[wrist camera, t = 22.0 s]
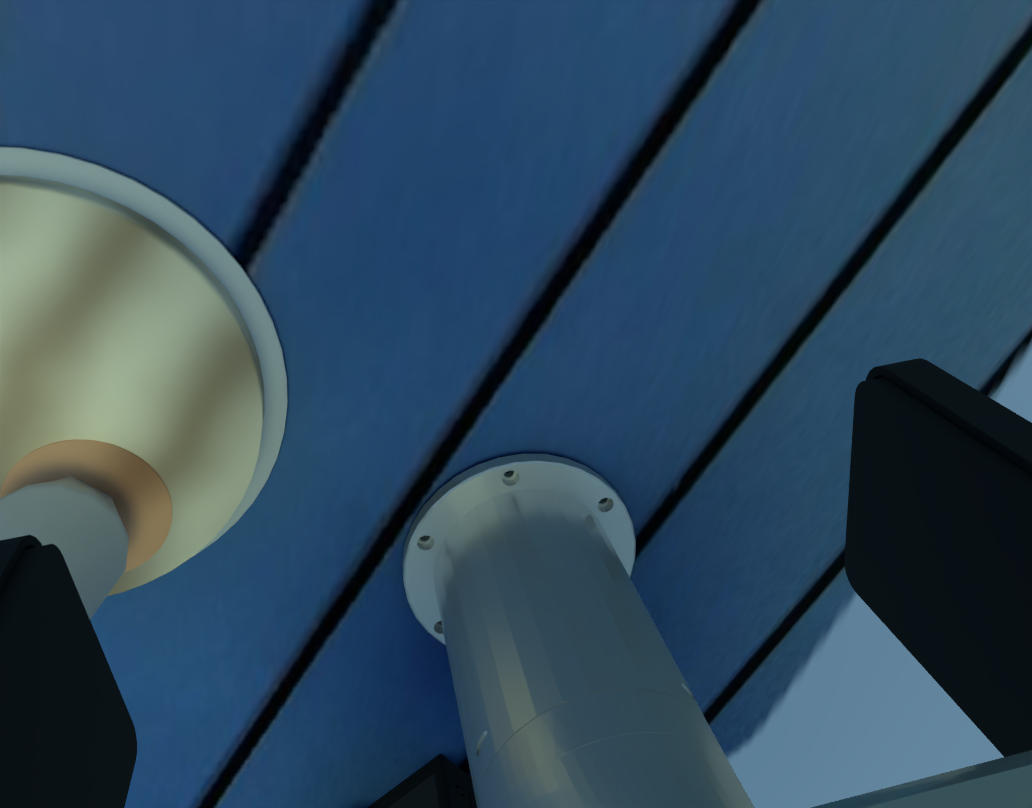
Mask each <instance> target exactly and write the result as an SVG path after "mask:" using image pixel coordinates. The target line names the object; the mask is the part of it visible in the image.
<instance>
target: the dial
mask: <svg viewBox="0 0 1032 808" xmlns="http://www.w3.org/2000/svg"><path fill="white" fill-rule="evenodd" d="M264 411H265V408H264V383H263V377H262V371H261V366H260V360H259V357H258V354H257V351H256V348H255V345H254V342H253V339H252V335H251V333H250V331H249V329H248V327H247V325H246V323H245V321H244V319H243V317H242V315H241V313H240V310H239V309H238V307H237V306H236V304H235V303H234V301H233V300H232V298H231V297H230V295H229V294H228V292H227V291H226V289H225V288H224V286H223V285H222V284H221V282H220V281H219V280H218V279H217V278H216V277H215V275H214V274H213V273H212V272H211V271H210V270H209V268H208V267H207V266H206V265H205V264H204V263H203V262H202V261H201V260H200V259H199V258H198V257H197V256H196V255H195V254H194V253H193V252H191V251H190V250H189V249H188V248H187V247H186V246H185V245H184V244H183V243H182V242H181V241H179V240H178V239H176V238H175V237H174V236H172V235H171V234H170V233H168V232H167V231H165V230H164V229H163V228H161V227H160V226H158V225H157V224H156V223H154V222H153V221H151V220H149V219H147V218H145V217H144V216H142V215H140V214H138V213H137V212H135V211H133V210H131V209H129V208H128V207H126V206H124V205H122V204H119V203H117V202H115V201H112V200H110V199H107V198H105V197H103V196H100V195H98V194H96V193H93V192H90V191H87V190H83V189H80V188H76V187H73V186H70V185H66V184H63V183H59V182H54V181H48V180H42V179H36V178H31V177H25V176H7V175H0V498H2V497H4V496H6V495H8V494H10V493H12V492H14V491H16V490H19V489H21V488H23V487H25V486H27V485H31V484H38V483H44V482H50V481H54V480H58V479H62V478H66V477H70V476H73V477H75V478H77V479H79V480H81V481H82V482H84V483H86V484H88V485H90V486H92V487H94V488H96V489H98V490H100V491H102V492H103V493H105V494H107V495H109V496H111V497H112V500H113V502H114V504H115V507H116V509H117V512H118V514H119V516H120V518H121V520H122V523H123V525H124V527H125V529H126V531H127V534H128V536H129V542H128V552H127V562H126V570H125V572H124V573H123V574H122V576H121V577H120V579H119V580H118V581H117V583H116V584H115V586H114V587H113V588H112V590H111V591H110V592H109V594H108V595H107V596H109V595H113V594H117V593H121V592H124V591H127V590H130V589H132V588H135V587H138V586H140V585H143V584H146V583H148V582H150V581H152V580H154V579H156V578H158V577H160V576H162V575H164V574H166V573H168V572H170V571H172V570H173V569H175V568H176V567H178V566H179V565H181V564H182V563H184V562H185V561H187V560H188V559H190V558H191V557H193V556H194V555H195V554H196V553H197V552H198V551H200V550H201V549H202V548H203V547H204V546H205V545H206V544H208V543H209V542H210V541H211V540H212V539H213V538H214V537H215V536H216V535H217V533H218V532H219V531H220V530H221V529H222V528H223V527H224V525H225V524H226V523H227V522H228V521H229V519H230V518H231V516H232V515H233V513H234V512H235V510H236V508H237V507H238V505H239V504H240V502H241V501H242V499H243V497H244V494H245V492H246V490H247V488H248V486H249V483H250V481H251V479H252V476H253V473H254V469H255V466H256V462H257V459H258V455H259V449H260V442H261V435H262V427H263V419H264Z"/></svg>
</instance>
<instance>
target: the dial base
mask: <svg viewBox="0 0 1032 808" xmlns="http://www.w3.org/2000/svg"><path fill="white" fill-rule="evenodd" d="M0 175H7V176H25V177H31V178H36V179H42V180H48V181H54V182H59V183H63V184H66V185H70V186H73V187H76V188H80V189H83V190H87V191H90V192H93V193H96V194H98V195H100V196H103V197H105V198H107V199H110V200H112V201H115V202H117V203H119V204H122V205H124V206H126V207H128V208H129V209H131V210H133V211H135V212H137V213H138V214H140V215H142V216H144V217H145V218H147V219H149V220H151V221H153V222H154V223H156V224H157V225H158V226H160V227H161V228H163V229H164V230H165V231H167V232H168V233H170V234H171V235H172V236H174V237H175V238H176V239H178V240H179V241H181V242H182V243H183V244H184V245H185V246H186V247H187V248H188V249H189V250H190V251H191V252H193V253H194V254H195V255H196V256H197V257H198V258H199V259H200V260H201V261H202V262H203V263H204V264H205V265H206V266H207V267H208V268H209V270H210V271H211V272H212V273H213V274H214V275H215V277H216V278H217V279H218V280H219V281H220V282H221V284H222V285H223V286H224V288H225V289H226V291H227V292H228V294H229V295H230V297H231V298H232V300H233V301H234V303H235V304H236V306H237V307H238V309H239V310H240V313H241V315H242V317H243V319H244V321H245V323H246V325H247V327H248V329H249V331H250V333H251V335H252V339H253V342H254V345H255V348H256V351H257V354H258V357H259V360H260V366H261V371H262V377H263V383H264V408H265V411H264V419H263V427H262V435H261V442H260V449H259V455H258V459H257V462H256V466H255V469H254V473H253V476H252V479H251V481H250V483H249V486H248V488H247V490H246V492H245V494H244V497H243V499H242V501H241V502H240V504H239V505H238V507H237V508H236V510H235V512H234V513H233V515H232V516H231V518H230V519H229V521H228V522H227V523H226V524H225V525H224V527H223V528H222V529H221V530H220V531H219V532H218V533H217V535H216V536H215V537H214V538H213V539H212V540H211V541H210V542H209V543H208V544H206V545H205V546H204V547H203V548H202V549H201V550H200V551H202V550H203V549H205V548H206V547H208V546H209V545H210V544H212V543H213V542H215V541H216V540H217V539H219V538H220V537H221V536H222V535H223V534H224V533H225V532H226V531H227V530H229V529H230V528H231V527H232V526H233V525H234V524H235V523H236V522H237V521H238V520H239V519H240V518H241V516H242V515H243V514H244V513H245V512H246V510H247V509H248V508H249V507H250V506H251V505H252V503H253V502H254V500H255V499H256V497H257V496H258V494H259V492H260V491H261V489H262V488H263V486H264V485H265V483H266V481H267V479H268V477H269V475H270V473H271V470H272V468H273V466H274V464H275V461H276V459H277V456H278V453H279V449H280V446H281V442H282V438H283V435H284V429H285V421H286V413H287V403H288V400H287V374H286V368H285V363H284V357H283V351H282V347H281V344H280V341H279V337H278V334H277V331H276V328H275V325H274V322H273V320H272V317H271V315H270V313H269V311H268V309H267V307H266V305H265V303H264V301H263V299H262V297H261V295H260V293H259V291H258V290H257V288H256V287H255V285H254V284H253V282H252V281H251V279H250V278H249V276H248V275H247V273H246V272H245V270H244V269H243V267H242V266H241V265H240V263H239V262H238V261H237V260H236V259H235V258H234V256H233V255H232V254H231V253H230V252H229V251H228V249H227V248H226V247H225V246H224V245H223V244H222V242H221V241H220V240H219V239H218V238H216V237H215V236H214V235H213V234H212V233H211V232H210V231H209V230H208V229H207V228H206V227H204V226H203V225H202V224H201V223H200V222H199V221H198V220H197V219H196V218H195V217H193V216H192V215H190V214H189V213H188V212H186V211H185V210H183V209H182V208H181V207H179V206H178V205H177V204H175V203H174V202H172V201H171V200H170V199H168V198H167V197H165V196H163V195H162V194H160V193H158V192H156V191H154V190H153V189H151V188H149V187H147V186H146V185H144V184H142V183H140V182H138V181H137V180H135V179H133V178H130V177H128V176H126V175H123V174H121V173H118V172H116V171H114V170H111V169H109V168H107V167H104V166H102V165H99V164H96V163H93V162H89V161H86V160H82V159H79V158H75V157H72V156H68V155H65V154H61V153H55V152H49V151H43V150H37V149H31V148H26V147H8V146H0ZM200 551H198V552H197V553H199V552H200ZM197 553H196V554H197ZM196 554H195V555H196ZM195 555H194V556H195Z"/></svg>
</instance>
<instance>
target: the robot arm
mask: <svg viewBox="0 0 1032 808" xmlns="http://www.w3.org/2000/svg"><path fill="white" fill-rule="evenodd" d="M510 470H511V472H509V473H505V472H507V471H510ZM423 536H425V537H423ZM635 549H636V539H635V534H634V528H633V523H632V521H631V518H630V516H629V514H628V511H627V509H626V507H625V505H624V503H623V502H622V500H621V499H620V497H619V496H618V494H617V492H616V491H615V490H614V489H613V488H612V487H611V486H610V484H609V483H608V482H607V481H606V480H605V479H604V478H603V477H602V476H600V475H599V474H597V473H596V472H594V471H593V470H591V469H590V468H588V467H587V466H585V465H582V464H580V463H577V462H575V461H572V460H570V459H568V458H563V457H558V456H553V455H548V454H518V455H511V456H505V457H499V458H496V459H493V460H490V461H487V462H484V463H481V464H478V465H476V466H474V467H472V468H470V469H468V470H467V471H465V472H463V473H461V474H459V475H457V476H456V477H454V478H453V479H452V480H450V481H449V482H448V483H447V484H445V485H444V486H443V487H441V488H440V489H439V490H438V491H437V492H436V493H435V494H434V495H433V496H432V497H431V498H430V499H429V501H428V502H427V503H426V504H425V505H424V506H423V507H422V509H421V511H420V512H419V514H418V515H417V517H416V519H415V520H414V522H413V524H412V525H411V528H410V531H409V534H408V536H407V539H406V542H405V545H404V552H403V559H402V570H403V582H404V587H405V591H406V596H407V601H408V603H409V605H410V607H411V609H412V611H413V613H414V615H415V617H416V618H417V620H418V621H419V622H420V623H421V625H422V626H423V627H424V628H425V630H426V631H427V632H428V633H430V634H431V635H432V636H433V637H434V638H436V639H437V640H438V641H439V642H441V643H442V644H444V645H446V648H447V654H448V659H449V664H450V669H451V674H452V679H453V685H454V690H455V695H456V700H457V705H458V710H459V716H460V721H461V726H462V731H463V736H464V741H465V747H466V752H467V757H468V762H469V767H470V772H471V778H472V783H473V788H474V793H475V798H476V804H477V808H754V806H753V804H752V803H751V801H750V799H749V798H748V796H747V794H746V792H745V790H744V789H743V787H742V785H741V783H740V781H739V779H738V778H737V776H736V774H735V772H734V771H733V769H732V767H731V765H730V763H729V761H728V760H727V758H726V756H725V754H724V752H723V750H722V748H721V747H720V745H719V743H718V741H717V739H716V737H715V736H714V734H713V732H712V730H711V728H710V726H709V725H708V723H707V721H706V719H705V717H704V715H703V713H702V711H701V710H700V708H699V706H698V704H697V702H696V700H695V698H694V696H693V694H692V692H691V691H690V689H689V687H688V685H687V683H686V681H685V679H684V678H683V676H682V674H681V672H680V670H679V668H678V666H677V665H676V663H675V661H674V659H673V657H672V655H671V653H670V652H669V650H668V648H667V646H666V644H665V642H664V640H663V639H662V637H661V635H660V633H659V631H658V629H657V627H656V625H655V624H654V622H653V620H652V618H651V616H650V614H649V612H648V611H647V609H646V607H645V605H644V603H643V601H642V599H641V598H640V596H639V594H638V592H637V590H636V588H635V586H634V585H633V583H632V581H631V579H630V577H631V573H632V569H633V565H634V561H635ZM845 570H846V574H847V577H848V580H849V582H850V584H851V586H852V588H853V589H854V590H855V592H856V593H857V594H858V595H859V596H860V597H861V599H862V600H863V601H864V602H865V603H866V604H867V605H868V606H869V607H870V608H871V610H872V611H873V612H874V613H875V614H876V615H877V616H878V617H879V618H880V619H881V621H882V622H883V623H884V624H885V625H886V626H887V627H888V628H889V629H890V631H891V632H892V633H893V634H894V635H895V636H896V637H897V638H898V640H900V641H901V643H902V644H903V645H904V646H905V647H906V648H907V650H908V651H909V652H910V653H911V654H912V655H913V656H914V657H915V658H916V659H917V661H918V662H919V663H920V664H921V665H922V666H923V667H924V668H925V669H926V671H927V672H928V673H929V674H930V675H931V676H932V677H933V678H934V679H935V680H936V682H937V683H938V684H939V685H940V686H941V687H942V688H943V689H944V691H946V693H947V694H948V695H949V696H950V697H951V698H952V699H953V700H954V702H955V703H956V704H957V705H958V706H959V707H960V708H961V709H962V710H963V712H964V713H965V714H966V715H967V716H968V717H969V718H970V719H971V720H972V722H974V724H975V725H976V726H977V727H978V728H979V729H980V730H981V732H982V733H983V734H984V735H985V736H986V737H987V738H988V739H989V740H990V741H991V743H992V744H994V746H995V747H996V748H997V749H998V750H999V751H1000V753H1001V754H1002V755H1003V756H1004V758H1000V759H996V760H992V761H988V762H984V763H981V764H977V765H973V766H969V767H965V768H962V769H958V770H954V771H950V772H946V773H942V774H939V775H935V776H931V777H927V778H923V779H919V780H916V781H912V782H908V783H904V784H900V785H896V786H892V787H889V788H885V789H881V790H877V791H873V792H869V793H866V794H862V795H858V796H854V797H850V798H846V799H842V800H839V801H835V802H831V803H827V804H824V805H820V806H816V807H812V808H1032V423H1031V422H1029V421H1027V420H1026V419H1024V418H1023V417H1021V416H1019V415H1017V414H1016V413H1014V412H1012V411H1011V410H1009V409H1007V408H1006V407H1004V406H1002V405H1001V404H999V403H997V402H996V401H994V400H992V399H991V398H989V397H987V396H986V395H984V394H982V393H981V392H979V391H977V390H976V389H974V388H972V387H971V386H969V385H967V384H965V383H964V382H962V381H960V380H959V379H957V378H955V377H954V376H952V375H950V374H949V373H947V372H945V371H944V370H942V369H940V368H939V367H937V366H935V365H934V364H932V363H930V362H929V361H927V360H924V359H921V358H920V359H913V360H908V361H903V362H898V363H893V364H888V365H883V366H878V367H874V368H873V369H872V370H871V371H870V372H869V374H868V376H867V378H866V381H862V382H861V383H860V384H858V386H857V388H856V392H855V402H854V418H853V433H852V449H851V465H850V481H849V497H848V513H847V529H846V544H845ZM136 755H137V740H136V733H135V728H134V725H133V722H132V720H131V717H130V715H129V712H128V710H127V708H126V705H125V703H124V701H123V698H122V696H121V693H120V691H119V689H118V686H117V684H116V681H115V679H114V677H113V674H112V672H111V669H110V667H109V665H108V662H107V660H106V657H105V655H104V653H103V650H102V648H101V645H100V643H99V641H98V638H97V636H96V633H95V631H94V629H93V626H92V624H91V621H90V619H89V617H88V614H87V612H86V610H85V607H84V605H83V602H82V600H81V598H80V595H79V593H78V590H77V588H76V586H75V583H74V581H73V578H72V576H71V574H70V571H69V569H68V566H67V564H66V562H65V559H64V557H63V555H62V553H61V551H60V549H59V548H58V547H57V546H56V545H54V544H48V545H43V546H42V544H41V542H40V541H39V540H38V539H37V538H36V537H34V536H32V535H25V536H20V537H15V538H10V539H5V540H0V808H124V806H125V802H126V798H127V794H128V790H129V786H130V782H131V778H132V773H133V769H134V765H135V761H136Z"/></svg>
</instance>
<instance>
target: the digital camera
mask: <svg viewBox="0 0 1032 808" xmlns="http://www.w3.org/2000/svg"><path fill="white" fill-rule="evenodd" d="M444 762H445V763H444ZM447 780H448V781H447ZM448 786H449V787H448ZM462 788H463V790H462ZM457 792H459V793H458V794H457ZM463 793H464V795H463V796H462V797H461V796H460V795H461V794H463ZM450 798H451V799H450ZM451 804H452V805H451ZM368 808H477V804H476V798H475V793H474V788H473V783H472V778H471V777H470V776H469V775H468V774H467V773H465V772H464V771H463V770H461V769H460V768H459V767H458V766H456V765H455V764H454V763H452V762H451V761H450V760H449V759H447V758H446V757H445V756H444V757H443V755H439V756H438V757H436V758H435V759H433V760H432V761H431V762H429V763H428V764H426V765H425V766H424V767H422V768H421V769H420V770H418V771H417V772H416V773H414V774H413V775H412V776H410V777H409V778H407V779H406V780H405V781H403V782H402V783H401V784H399V785H398V786H397V787H395V788H394V789H393V790H391V791H390V792H389V793H387V794H386V795H385V796H383V797H382V798H380V799H379V800H378V801H376V802H375V803H374V804H372V805H371V806H370V807H368Z"/></svg>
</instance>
